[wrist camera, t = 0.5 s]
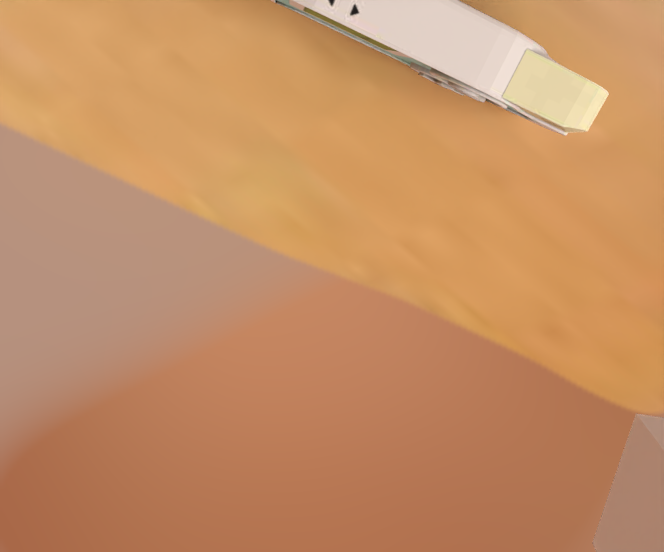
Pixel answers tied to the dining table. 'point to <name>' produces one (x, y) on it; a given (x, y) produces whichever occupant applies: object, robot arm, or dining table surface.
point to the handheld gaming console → (466, 56)
